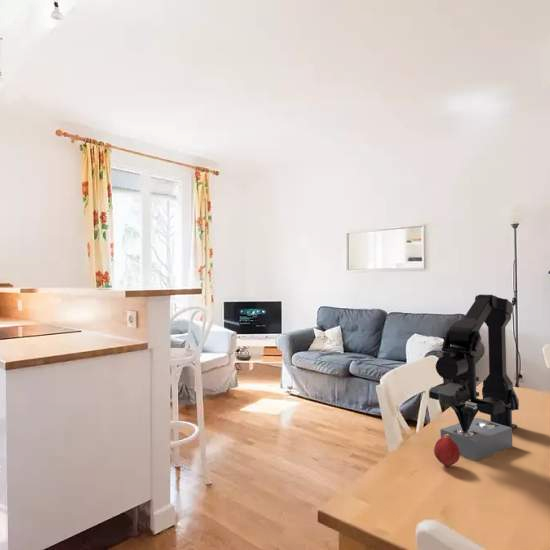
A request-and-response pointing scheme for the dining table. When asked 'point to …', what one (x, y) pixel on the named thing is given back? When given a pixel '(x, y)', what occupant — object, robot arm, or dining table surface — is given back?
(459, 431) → the peg
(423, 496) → the dining table surface
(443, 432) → the socket block
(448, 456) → the onion
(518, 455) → the dining table surface
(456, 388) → the robot arm
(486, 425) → the peg
